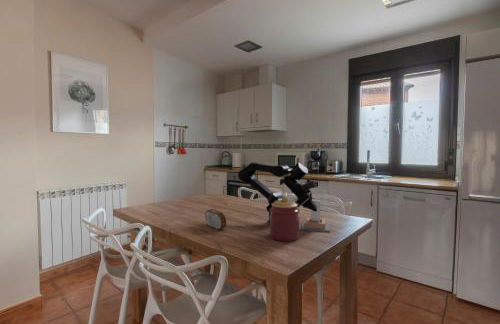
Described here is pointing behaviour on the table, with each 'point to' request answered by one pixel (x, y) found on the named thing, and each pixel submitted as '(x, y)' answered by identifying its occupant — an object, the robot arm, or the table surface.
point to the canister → (284, 220)
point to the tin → (215, 219)
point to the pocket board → (315, 225)
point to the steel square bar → (316, 215)
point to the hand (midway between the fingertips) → (316, 209)
